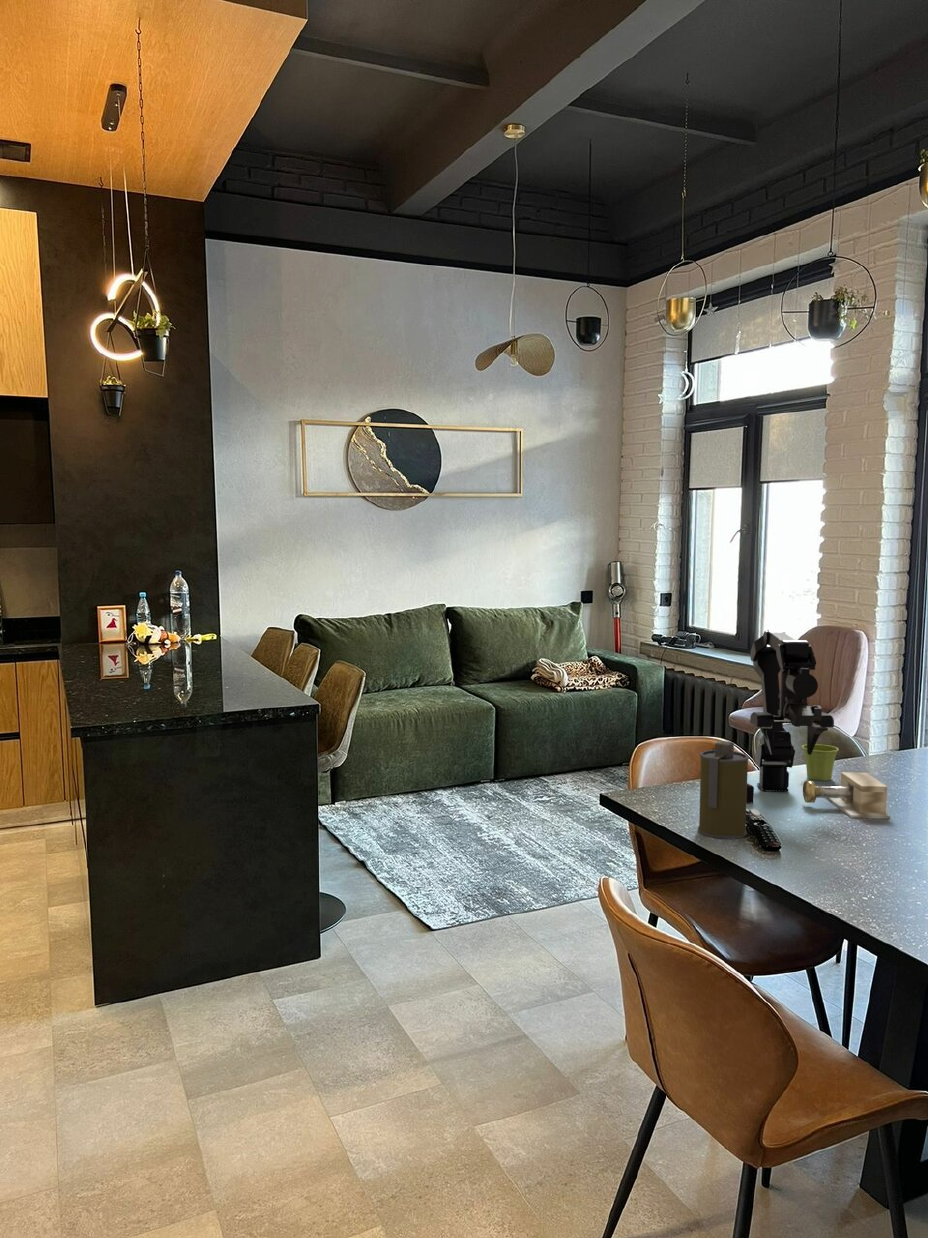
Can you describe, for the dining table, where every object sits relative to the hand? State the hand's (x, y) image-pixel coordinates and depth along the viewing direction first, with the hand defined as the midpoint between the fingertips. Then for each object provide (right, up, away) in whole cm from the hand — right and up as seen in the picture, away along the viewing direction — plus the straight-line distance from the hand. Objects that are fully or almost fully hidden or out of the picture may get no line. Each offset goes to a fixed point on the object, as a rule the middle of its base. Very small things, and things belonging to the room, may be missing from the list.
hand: (790, 754), depth 221 cm
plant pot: (+18, -11, +28) cm, 35 cm away
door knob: (+12, -12, 0) cm, 17 cm away
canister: (-23, -14, -20) cm, 34 cm away
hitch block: (+16, -13, 0) cm, 20 cm away
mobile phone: (-11, -12, +10) cm, 19 cm away
